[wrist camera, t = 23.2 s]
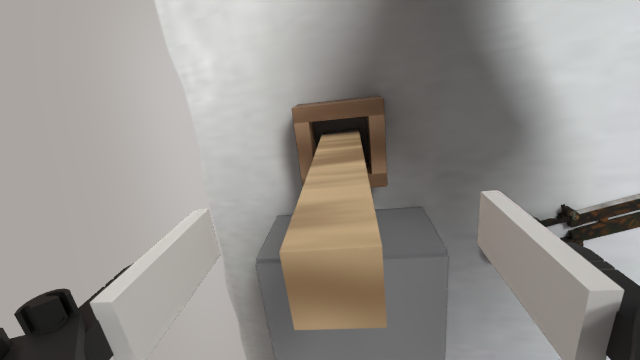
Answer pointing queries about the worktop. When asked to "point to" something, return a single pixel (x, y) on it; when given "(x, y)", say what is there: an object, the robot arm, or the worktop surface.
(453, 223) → the worktop surface
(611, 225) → the knife
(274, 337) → the box
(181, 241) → the robot arm
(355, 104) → the square wooden socket
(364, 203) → the light wood square bar
